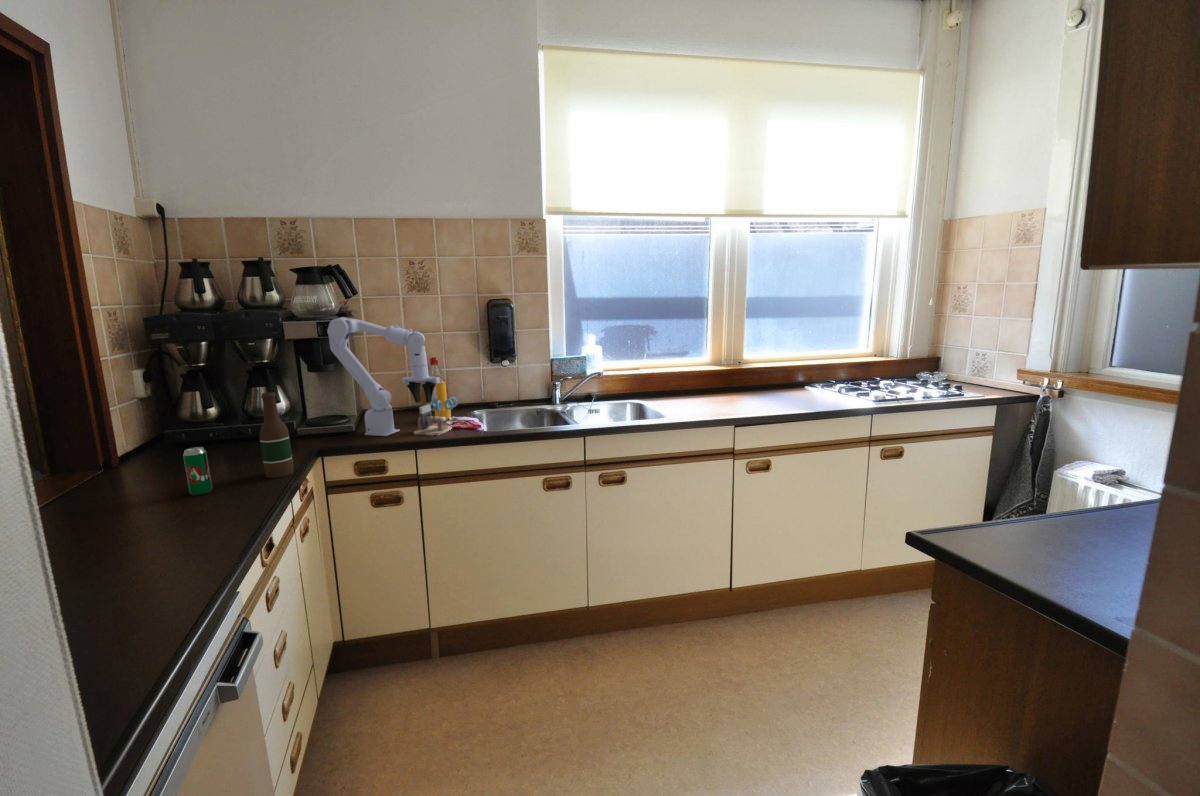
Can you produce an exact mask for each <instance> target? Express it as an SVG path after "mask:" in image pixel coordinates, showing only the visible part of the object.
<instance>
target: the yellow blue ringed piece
mask: <svg viewBox="0 0 1200 796" xmlns="http://www.w3.org/2000/svg"><path fill="white" fill-rule="evenodd" d="M446 383H447V382H446V381H440V382H439V383H436V385H435V387H434V390H435V397H433V398H432V400H431V402H430V403H431V405H432V407H431V411H434V416H438V417H445V418H450V417H451V418H452V410H453V409H454V408H456V407H457V405H458V400H457V398H456V397H455V396H451V397H449V398H448V394H447V384H446ZM452 400H454V401H455V402H454V403H453V401H452ZM430 403H427V402H426V405H427V404H430Z"/></svg>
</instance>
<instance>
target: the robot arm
mask: <svg viewBox="0 0 1200 796" xmlns="http://www.w3.org/2000/svg"><path fill="white" fill-rule="evenodd" d="M326 332H327V335H328V341H329V348H330V350H331V352H332V354H334V356H335V357H336V358H337V359H338V361H339V362H340V363H341V365H343V367H344V368H345V369H346V370H347V372H348V373H349V374H350V375H351V376H352V378H353V380H355V381H356V382H357V384H358V385H359V386H360V388H361V389H362V390H363V392H364V395H365V396H366V398H367V399H368V402H369V406H370V408H369V409H367V410H366V411H365V413H364V425H365V433H364V435H365V436H379V437H380V436H381V437H388V436H390V435H392V434H395V433H397V432H401V430H400V429H396V428H395V422H394V413H393V406H392V405H391V404H390V403H391V401H392V394H391V392H390V391H388V390H387V389H385V388H383V386H382V385H381V384H380V383H378V382H376V381H375V379H374V378H373V377H372V375H371V374H370V372H368V371H367V369H366V368H365V367H364V366H363V365H362V363H361V362H360V361H359V359H358V358H357V356H355V354H354V353H353V352H352V351H351V349H350V348H349V347H348V342H349V337H350V335H352V333H356V332H357V333H358V332H365V333H368V334H373V335H376V336H377V335H378V336H380V337H381V336H382V337H384V338H385V339H386V341H387V342H390V343H393V344H396V345H397V344H398V345H401V346H408V347H409V361H410V370H411V376H404V377H402V378H401V379H402V383H403V384H407V385H406V387H407V389H408V390H409V391H410V393H411V394H412V397H413V399H414V401H415V403H416V404H418V403H420V402H421V401H422V400H421V399H422V397H421V387H422V389H423V392H424V397H425V402H426V404H427V403H429V404H431V403H432V402H431V400H432V399H433V398H432V397H433V393H434V390H435V385H436V383H439V382H441V381H440V380H441V379H440V376H430V375H429V367H428V357H427V352H426V346H425V345H424V344H425V343H426V342H425V341H426V338H425V336H424V334H423V333H422V332H419V331H418V330H415V331H413V329H412V328H410V329H409V328H408V329H406V328H403V327H400V326H399V325H398V324H394V325H389V326H388V327H385V326H383V325H379V324H376V323H372V322H368V321H366V320H362V319H357V318H351V317H350V318H348V317H345V316H341V317H337V318H333V319H332V320H330V322H329V324H328V327H327V331H326Z"/></svg>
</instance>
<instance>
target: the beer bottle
mask: <svg viewBox="0 0 1200 796" xmlns="http://www.w3.org/2000/svg"><path fill="white" fill-rule="evenodd" d="M260 398H261V399H262V407H263V408H262V409H263V422H262V425H261V427H260V429H259V444H260V450H261V451H260V452H261V456H262V464H263V470H264V474H265V475H264V476H265V477H266V478H267V477H268V478H269V479H278V478H279V479H280V478H285V477H287V476H290V475H293V474H294V461H293V454H292V453H293V452H292V448H291V447H292V446H291V442H290V441H291V439H290V434H289V429H288V427H287V425H286V423H285V422H284V421H282V419H281V417H280V415H279V411H278V405H277V401H276V392H274V391H268V392H263V393H261V397H260Z"/></svg>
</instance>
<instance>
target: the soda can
mask: <svg viewBox="0 0 1200 796" xmlns="http://www.w3.org/2000/svg"><path fill="white" fill-rule="evenodd" d="M182 457H183V462H184V468H185V473H186V479H187V485H188V490H189V494H190V495H192V496H202V495H206V494H209V493H210V492H212V490H213V483H212V477H211V472H210V467H209V466H210V465H209V460H208V453H207V451H206V449H205V448H204V447H203V446H197V447H190V448H187V449H185V450H184V451H183V454H182Z"/></svg>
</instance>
